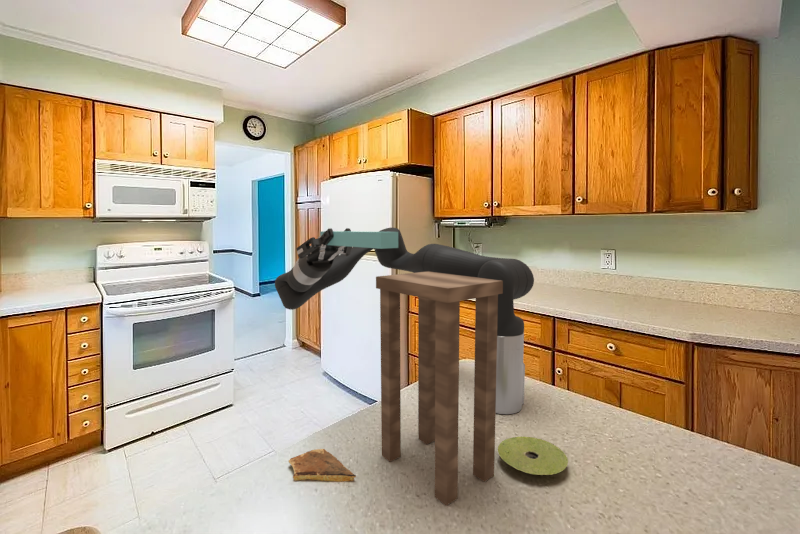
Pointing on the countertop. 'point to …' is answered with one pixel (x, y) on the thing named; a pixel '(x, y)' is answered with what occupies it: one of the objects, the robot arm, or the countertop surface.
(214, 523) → the countertop surface
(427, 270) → the robot arm
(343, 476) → the brown flat wedge
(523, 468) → the green flat disc
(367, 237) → the teal block
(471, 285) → the walnut stand
